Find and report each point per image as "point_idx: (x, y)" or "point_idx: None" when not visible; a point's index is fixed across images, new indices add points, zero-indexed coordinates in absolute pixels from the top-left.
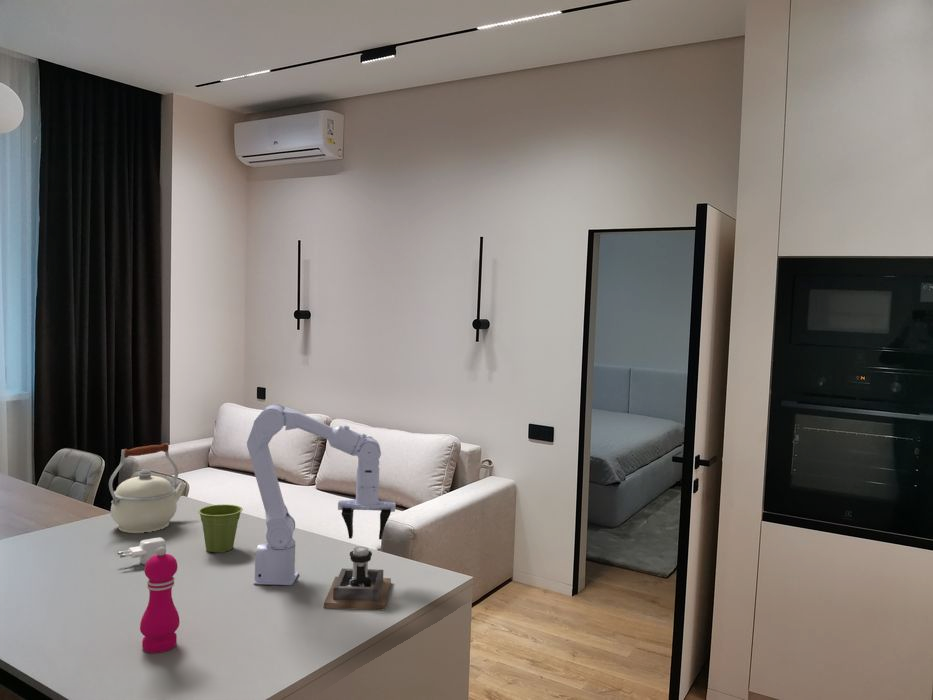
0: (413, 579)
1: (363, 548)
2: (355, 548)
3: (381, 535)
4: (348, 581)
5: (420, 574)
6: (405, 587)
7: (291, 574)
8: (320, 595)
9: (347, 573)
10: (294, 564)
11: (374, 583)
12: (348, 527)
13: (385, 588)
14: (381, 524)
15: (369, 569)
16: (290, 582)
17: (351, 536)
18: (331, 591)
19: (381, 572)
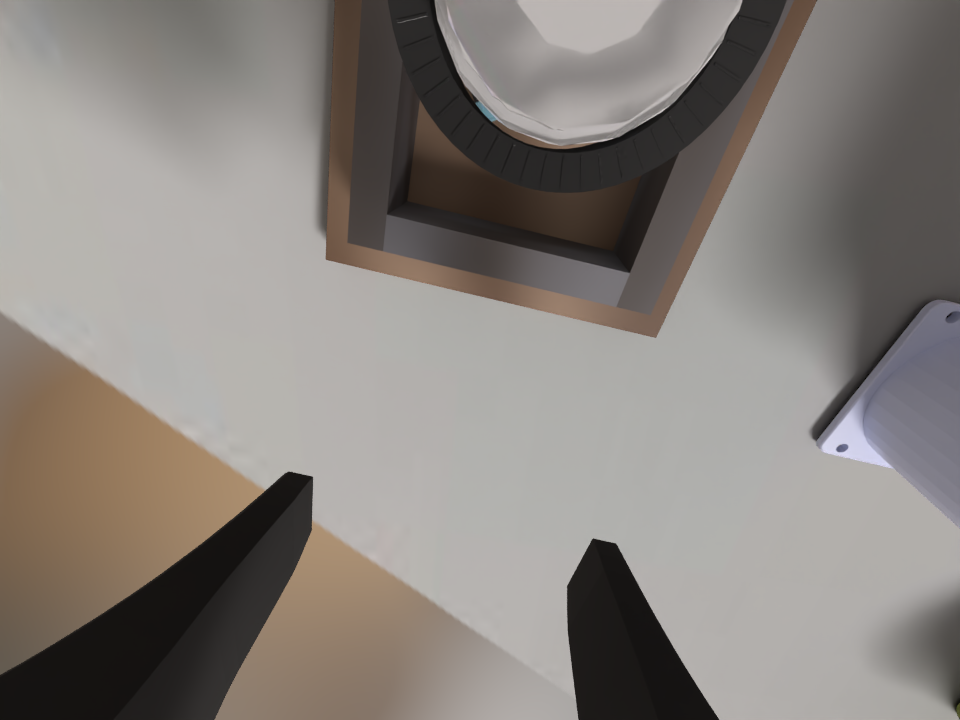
0: (214, 283)
1: (535, 1)
2: (696, 26)
3: (261, 498)
4: (594, 247)
5: (188, 342)
6: (244, 166)
7: (940, 374)
8: (813, 104)
9: (612, 264)
10: (947, 435)
11: (429, 185)
12: (672, 671)
13: (354, 69)
14: (154, 635)
15: (451, 263)
16: (937, 321)
17: (600, 555)
18: (765, 63)
19: (360, 186)
